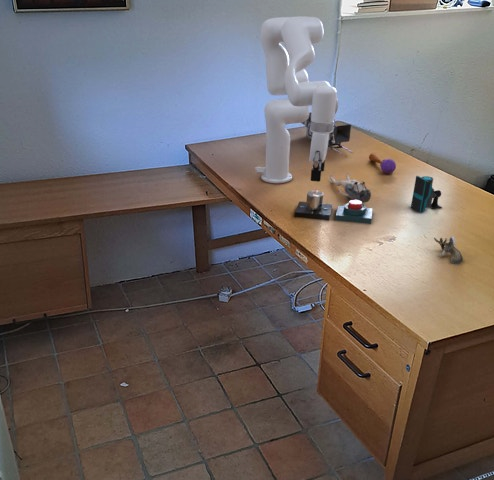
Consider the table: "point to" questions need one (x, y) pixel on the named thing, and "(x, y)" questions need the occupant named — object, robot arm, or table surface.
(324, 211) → the dial panel
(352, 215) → the button box
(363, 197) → the anime figure
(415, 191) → the surveillance camera
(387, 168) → the purple maraca
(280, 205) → the table surface
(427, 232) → the table surface
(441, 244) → the antlered animal figurine
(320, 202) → the dial
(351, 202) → the red button
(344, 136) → the film camera
